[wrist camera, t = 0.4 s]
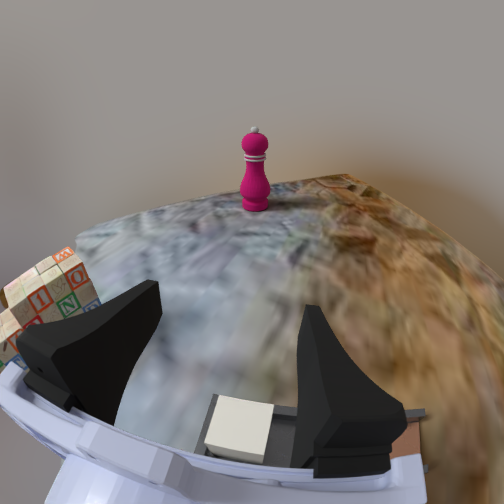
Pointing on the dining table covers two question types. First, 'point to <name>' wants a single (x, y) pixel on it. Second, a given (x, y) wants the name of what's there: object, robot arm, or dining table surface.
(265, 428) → the block
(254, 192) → the pepper mill
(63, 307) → the stack of blocks
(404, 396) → the dining table surface
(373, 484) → the robot arm
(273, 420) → the gray rectangular tray
